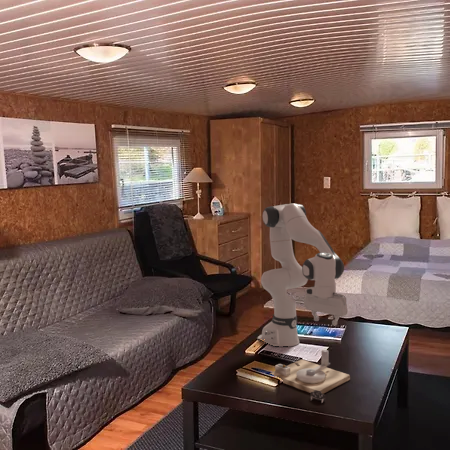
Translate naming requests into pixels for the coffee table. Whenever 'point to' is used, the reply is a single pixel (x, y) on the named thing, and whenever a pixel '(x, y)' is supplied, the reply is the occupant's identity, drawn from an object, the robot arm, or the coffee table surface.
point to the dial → (314, 370)
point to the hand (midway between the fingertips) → (325, 322)
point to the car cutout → (317, 395)
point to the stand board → (289, 377)
